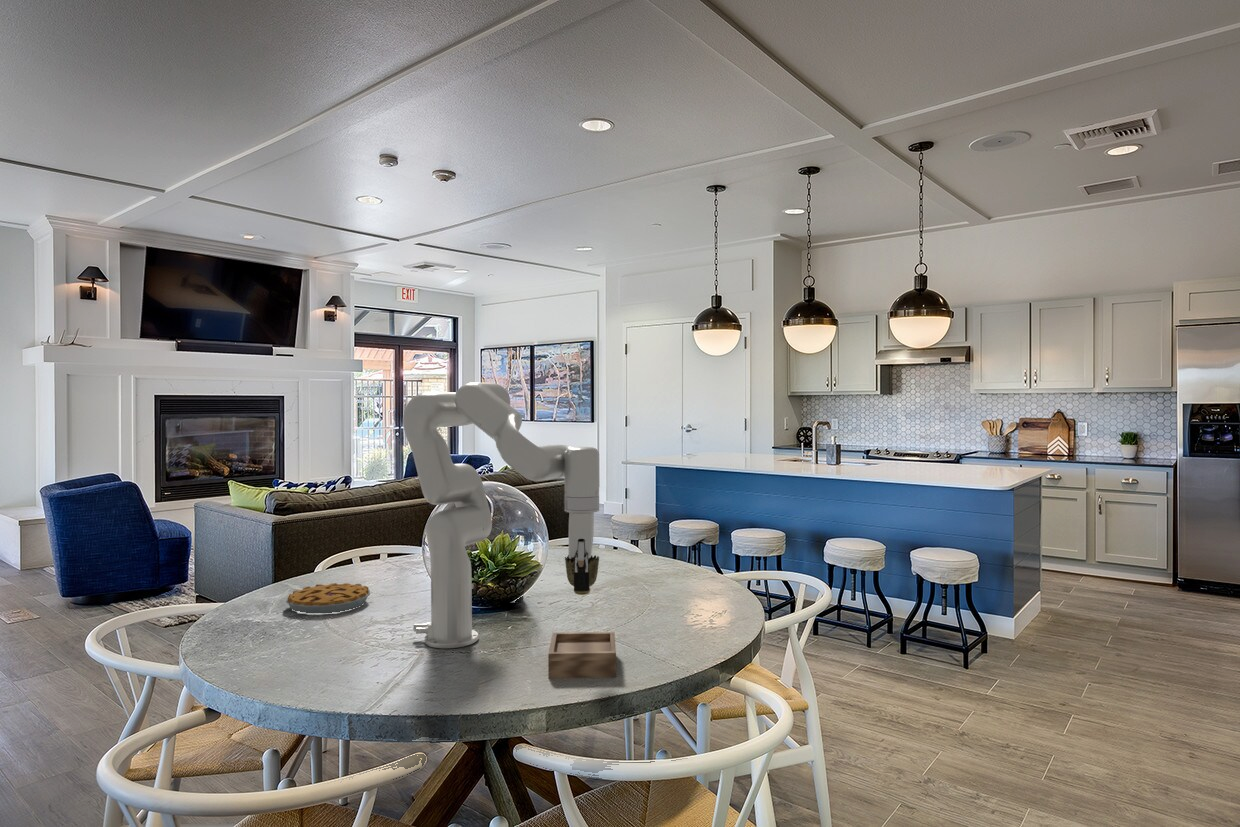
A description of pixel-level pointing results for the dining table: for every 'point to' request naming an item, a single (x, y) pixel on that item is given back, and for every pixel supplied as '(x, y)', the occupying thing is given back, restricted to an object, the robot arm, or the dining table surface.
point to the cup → (592, 570)
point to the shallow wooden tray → (582, 655)
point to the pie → (328, 598)
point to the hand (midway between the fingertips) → (582, 585)
